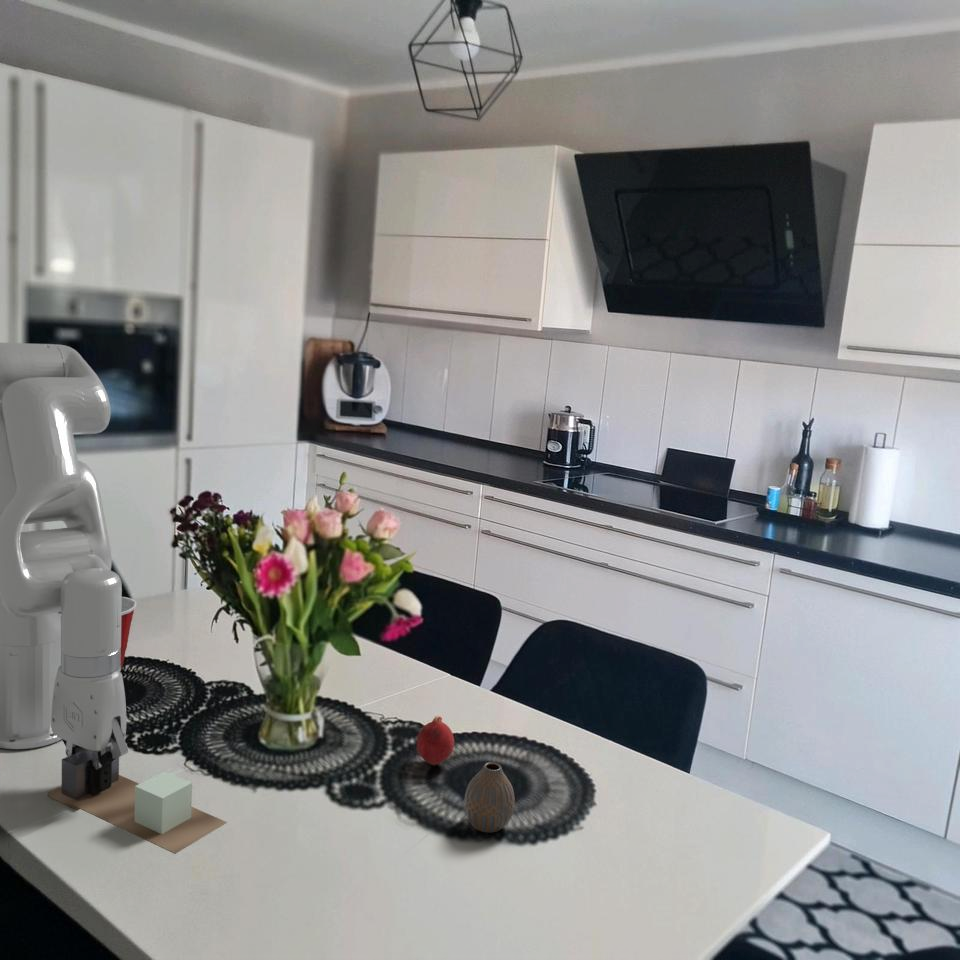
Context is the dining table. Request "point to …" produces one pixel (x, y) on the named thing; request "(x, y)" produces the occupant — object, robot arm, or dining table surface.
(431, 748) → the red pomegranate
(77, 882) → the dining table surface
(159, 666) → the dining table surface
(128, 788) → the board with grey block
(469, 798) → the vase
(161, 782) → the sage block
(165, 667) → the dining table surface
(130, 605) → the plastic cup
